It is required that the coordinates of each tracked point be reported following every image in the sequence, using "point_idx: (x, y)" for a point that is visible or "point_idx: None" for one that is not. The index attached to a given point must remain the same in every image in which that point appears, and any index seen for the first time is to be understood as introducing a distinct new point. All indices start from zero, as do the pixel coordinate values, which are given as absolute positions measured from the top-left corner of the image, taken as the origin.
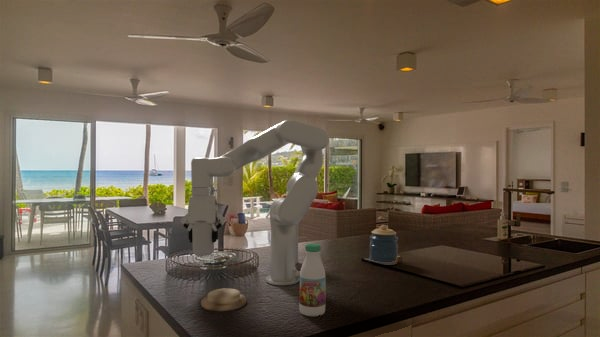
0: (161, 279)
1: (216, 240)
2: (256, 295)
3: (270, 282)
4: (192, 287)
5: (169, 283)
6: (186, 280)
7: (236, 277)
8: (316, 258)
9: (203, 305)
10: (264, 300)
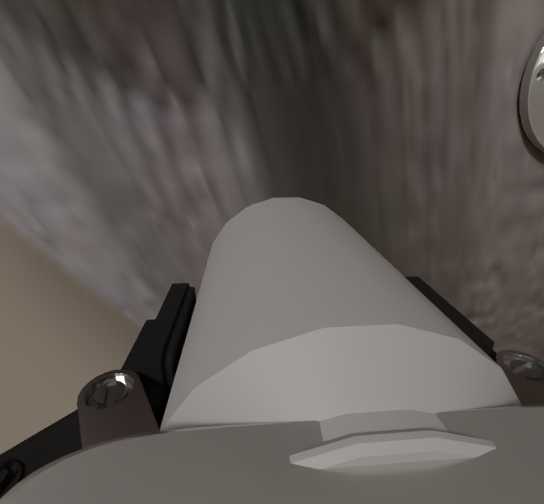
0: (3, 103)
1: (415, 280)
2: (461, 267)
3: (534, 140)
4: (220, 212)
5: (90, 168)
6: (146, 110)
7: (383, 29)
8: None
9: None
10: (481, 303)
